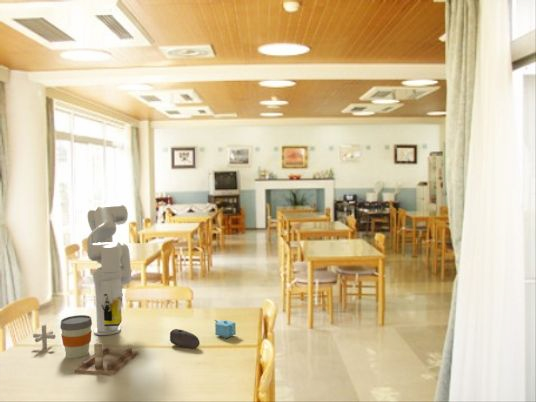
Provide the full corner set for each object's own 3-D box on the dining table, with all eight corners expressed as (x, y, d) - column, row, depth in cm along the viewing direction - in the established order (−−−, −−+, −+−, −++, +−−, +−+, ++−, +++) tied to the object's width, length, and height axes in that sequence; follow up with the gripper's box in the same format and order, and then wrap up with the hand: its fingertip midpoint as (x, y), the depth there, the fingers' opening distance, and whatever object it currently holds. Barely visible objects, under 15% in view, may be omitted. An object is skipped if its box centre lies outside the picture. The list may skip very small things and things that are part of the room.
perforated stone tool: (203, 347, 214) (202, 332, 214) (195, 351, 210) (195, 335, 209) (176, 342, 222) (176, 327, 221) (168, 345, 217) (168, 330, 217)
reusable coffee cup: (99, 350, 213) (98, 316, 212) (79, 361, 201) (77, 325, 200) (75, 347, 217) (74, 313, 216) (54, 357, 205) (53, 322, 204)
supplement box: (107, 322, 205) (106, 296, 205) (121, 321, 206) (121, 295, 205) (103, 326, 200) (102, 300, 199) (118, 326, 200) (118, 299, 199)
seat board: (103, 351, 211) (103, 328, 210) (138, 353, 208) (137, 330, 207) (74, 372, 189) (73, 346, 189) (113, 375, 186) (112, 349, 186)
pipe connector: (47, 352, 211) (46, 329, 211) (27, 350, 213) (26, 328, 213) (61, 344, 221) (60, 322, 220) (42, 342, 223) (41, 321, 222)
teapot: (210, 335, 230) (209, 319, 230) (219, 331, 235) (218, 316, 235) (229, 340, 223) (228, 324, 222) (238, 336, 228) (237, 320, 227)
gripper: (113, 270, 211) (114, 311, 212) (91, 279, 194) (93, 323, 195) (129, 271, 209) (130, 312, 210) (109, 280, 192) (110, 324, 193)
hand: (112, 317), depth 203 cm, fingers closed on supplement box, 7 cm apart
